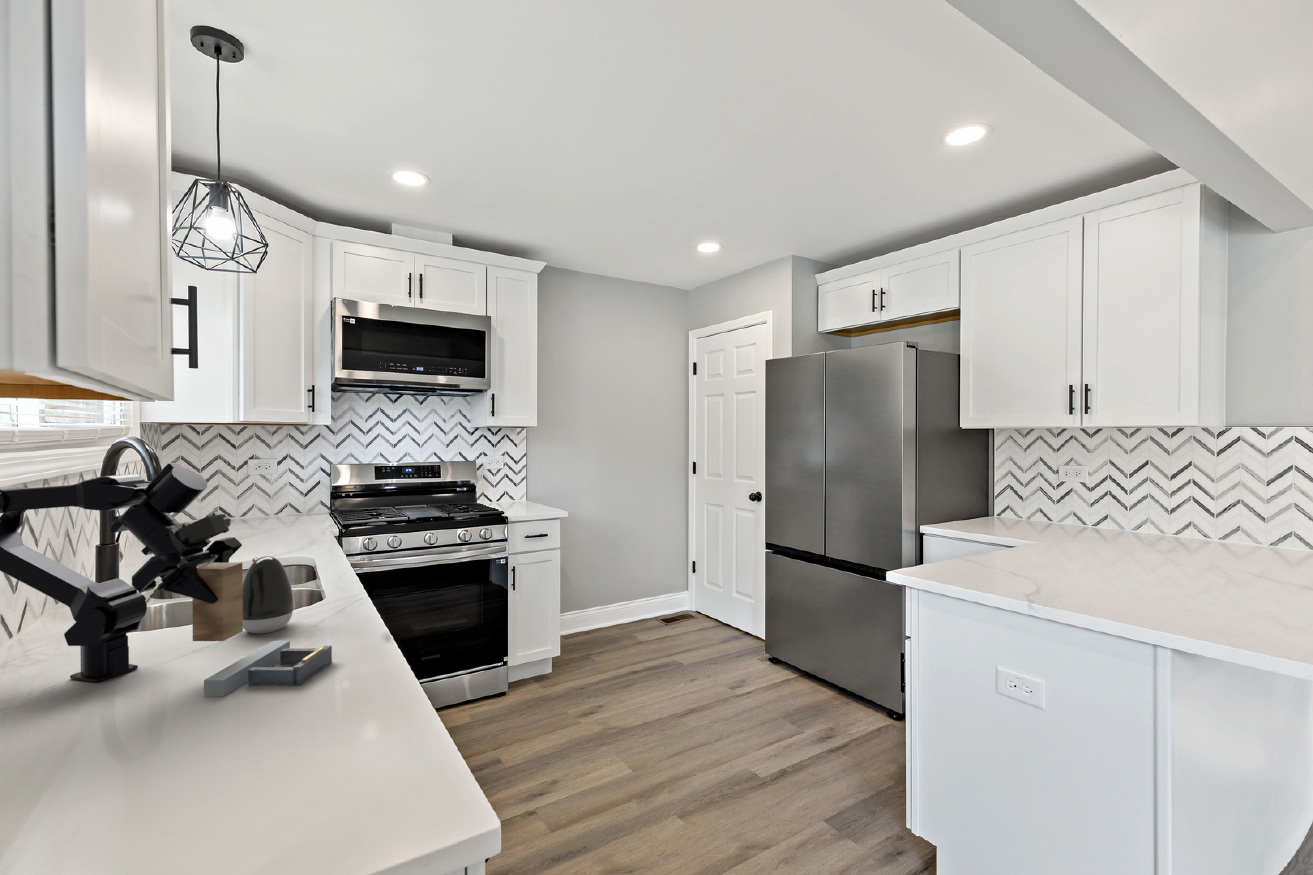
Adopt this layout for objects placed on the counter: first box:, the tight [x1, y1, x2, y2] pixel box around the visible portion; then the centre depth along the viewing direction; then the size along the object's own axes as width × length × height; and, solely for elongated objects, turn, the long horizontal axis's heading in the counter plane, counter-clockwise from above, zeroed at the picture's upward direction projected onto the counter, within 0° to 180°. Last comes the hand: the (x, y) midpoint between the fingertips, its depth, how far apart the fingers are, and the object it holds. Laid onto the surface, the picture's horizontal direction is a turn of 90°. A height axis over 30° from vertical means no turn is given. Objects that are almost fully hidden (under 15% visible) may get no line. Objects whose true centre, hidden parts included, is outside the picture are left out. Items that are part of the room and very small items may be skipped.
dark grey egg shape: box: [243, 555, 296, 635], centre depth 129 cm, size 10×10×15 cm
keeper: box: [247, 645, 333, 686], centre depth 106 cm, size 8×10×3 cm
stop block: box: [191, 562, 244, 642], centre depth 106 cm, size 5×5×12 cm
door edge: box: [203, 640, 291, 697], centre depth 106 cm, size 3×18×2 cm, turn 1°
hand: (226, 597), depth 106 cm, fingers closed on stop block, 5 cm apart
